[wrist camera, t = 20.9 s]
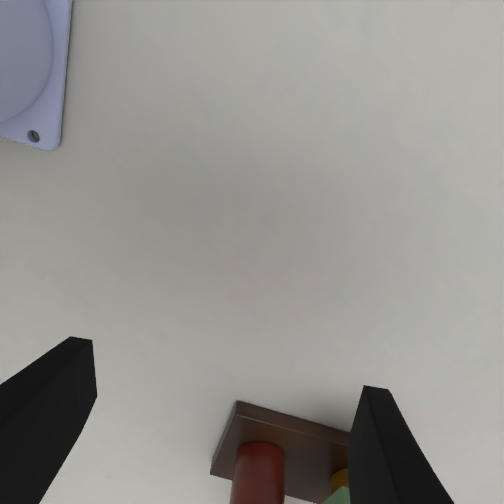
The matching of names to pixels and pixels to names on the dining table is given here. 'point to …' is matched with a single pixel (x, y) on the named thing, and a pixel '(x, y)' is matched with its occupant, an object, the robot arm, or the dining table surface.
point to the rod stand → (279, 457)
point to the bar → (339, 497)
